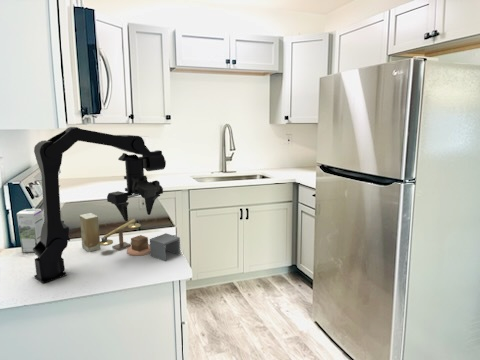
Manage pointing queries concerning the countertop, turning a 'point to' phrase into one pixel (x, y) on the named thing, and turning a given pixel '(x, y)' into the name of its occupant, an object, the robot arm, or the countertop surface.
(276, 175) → the countertop surface
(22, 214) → the syrup box
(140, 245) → the walnut block
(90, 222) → the skincare box
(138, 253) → the dish
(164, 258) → the cover
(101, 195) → the countertop surface
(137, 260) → the countertop surface
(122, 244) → the balance
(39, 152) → the robot arm
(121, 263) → the countertop surface
